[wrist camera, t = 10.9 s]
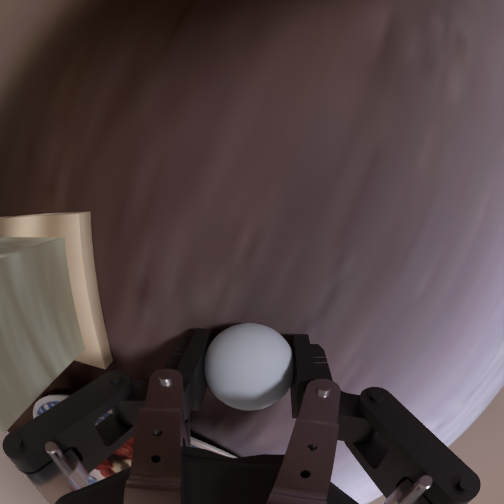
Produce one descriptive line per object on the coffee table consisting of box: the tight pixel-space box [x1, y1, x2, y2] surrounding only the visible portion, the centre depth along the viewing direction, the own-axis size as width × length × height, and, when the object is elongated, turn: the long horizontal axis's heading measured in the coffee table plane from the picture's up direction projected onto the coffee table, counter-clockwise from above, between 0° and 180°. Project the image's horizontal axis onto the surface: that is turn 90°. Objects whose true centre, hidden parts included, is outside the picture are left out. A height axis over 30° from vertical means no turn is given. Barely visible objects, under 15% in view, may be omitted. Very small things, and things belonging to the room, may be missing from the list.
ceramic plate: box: [33, 395, 237, 485], centre depth 17 cm, size 26×26×3 cm
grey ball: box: [204, 323, 294, 411], centre depth 11 cm, size 4×4×4 cm
